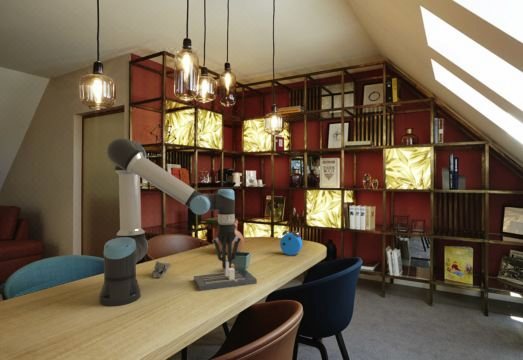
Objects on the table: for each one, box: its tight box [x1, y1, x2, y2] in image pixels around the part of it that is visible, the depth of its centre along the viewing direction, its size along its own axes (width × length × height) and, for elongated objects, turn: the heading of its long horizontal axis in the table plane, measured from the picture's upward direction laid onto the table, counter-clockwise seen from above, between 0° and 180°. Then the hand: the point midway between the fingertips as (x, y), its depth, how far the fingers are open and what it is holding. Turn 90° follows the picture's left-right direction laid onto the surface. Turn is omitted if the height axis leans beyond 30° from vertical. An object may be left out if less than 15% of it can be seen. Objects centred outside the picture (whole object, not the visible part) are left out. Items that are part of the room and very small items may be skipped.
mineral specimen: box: [151, 261, 172, 279], centre depth 158 cm, size 10×8×10 cm
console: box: [193, 269, 258, 292], centre depth 148 cm, size 26×15×3 cm, turn 111°
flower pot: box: [231, 251, 252, 271], centre depth 165 cm, size 9×9×9 cm
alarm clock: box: [279, 230, 303, 256], centre depth 200 cm, size 13×6×15 cm, turn 66°
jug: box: [218, 219, 245, 256], centre depth 206 cm, size 18×18×20 cm
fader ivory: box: [228, 268, 235, 280], centre depth 145 cm, size 3×3×4 cm
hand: (226, 275), depth 145 cm, fingers closed
